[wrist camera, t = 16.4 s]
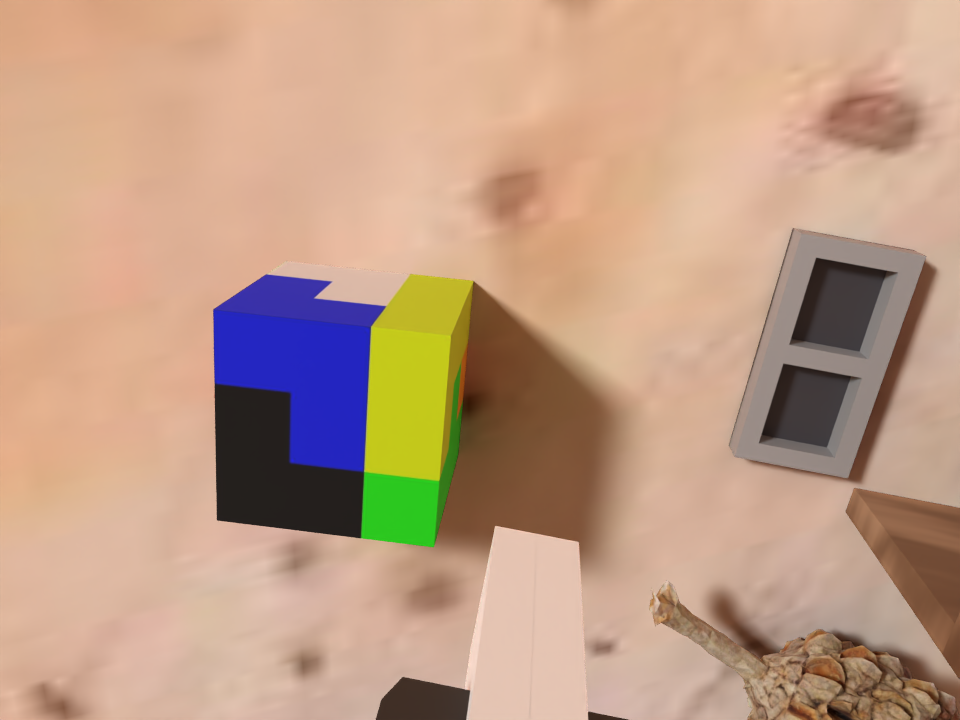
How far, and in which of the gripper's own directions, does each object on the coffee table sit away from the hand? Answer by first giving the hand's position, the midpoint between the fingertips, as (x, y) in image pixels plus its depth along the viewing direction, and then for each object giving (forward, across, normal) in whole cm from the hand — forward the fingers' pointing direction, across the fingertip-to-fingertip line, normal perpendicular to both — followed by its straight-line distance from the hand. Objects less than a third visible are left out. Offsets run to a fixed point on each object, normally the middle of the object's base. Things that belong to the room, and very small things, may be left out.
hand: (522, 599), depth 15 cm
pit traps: (+29, -15, +2) cm, 33 cm away
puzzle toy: (+30, +8, +7) cm, 32 cm away
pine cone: (+30, -18, +20) cm, 40 cm away
